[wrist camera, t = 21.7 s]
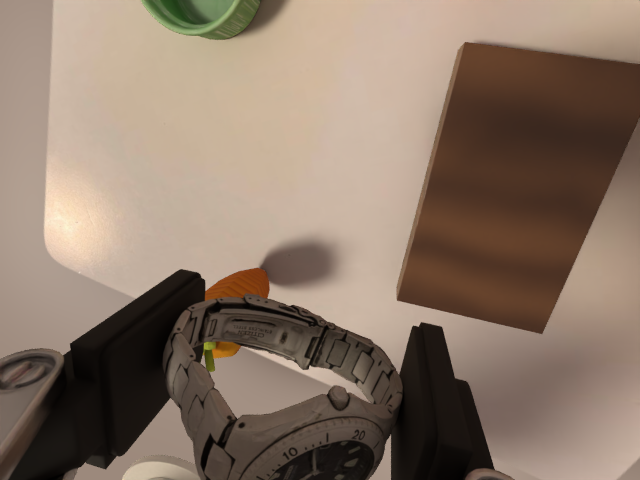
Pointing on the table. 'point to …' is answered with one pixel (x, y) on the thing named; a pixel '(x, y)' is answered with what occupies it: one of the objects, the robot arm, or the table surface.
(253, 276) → the carrot
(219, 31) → the ramekin
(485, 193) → the cutting board
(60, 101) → the table surface
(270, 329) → the wristwatch
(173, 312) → the robot arm
